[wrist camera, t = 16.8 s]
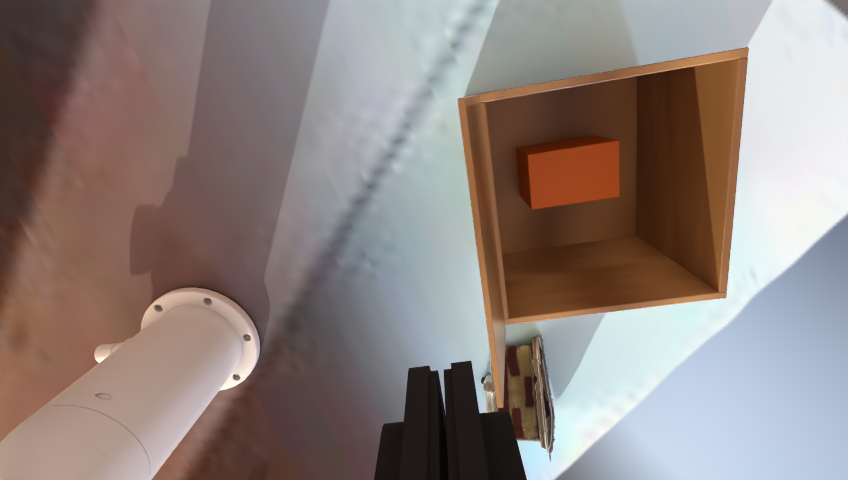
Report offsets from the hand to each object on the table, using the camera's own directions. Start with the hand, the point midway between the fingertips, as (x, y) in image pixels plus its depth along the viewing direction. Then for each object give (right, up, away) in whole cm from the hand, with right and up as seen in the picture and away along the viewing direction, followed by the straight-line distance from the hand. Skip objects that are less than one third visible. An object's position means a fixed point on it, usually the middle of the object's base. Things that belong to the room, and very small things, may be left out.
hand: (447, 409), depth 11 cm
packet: (+11, +11, +25) cm, 30 cm away
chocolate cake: (+9, -11, +34) cm, 37 cm away
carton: (+11, +11, +26) cm, 30 cm away
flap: (+3, +4, +11) cm, 12 cm away
